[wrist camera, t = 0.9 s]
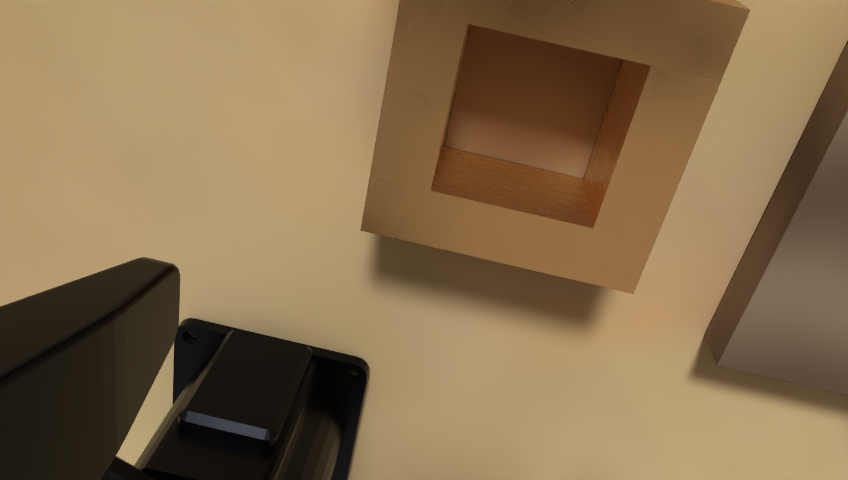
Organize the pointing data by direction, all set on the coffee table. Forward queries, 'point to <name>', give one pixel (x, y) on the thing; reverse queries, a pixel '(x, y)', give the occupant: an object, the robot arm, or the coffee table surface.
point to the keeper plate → (797, 264)
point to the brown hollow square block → (535, 188)
